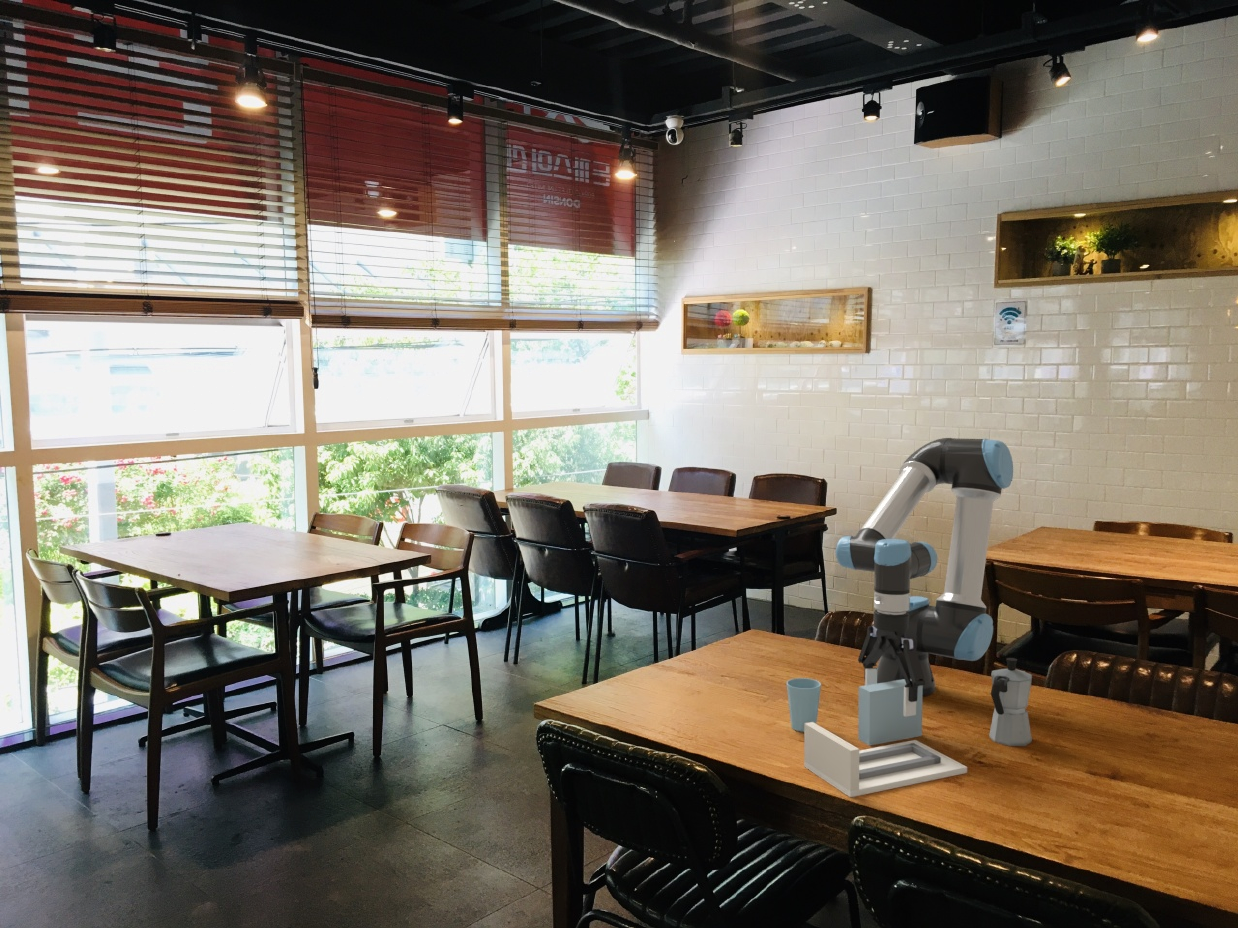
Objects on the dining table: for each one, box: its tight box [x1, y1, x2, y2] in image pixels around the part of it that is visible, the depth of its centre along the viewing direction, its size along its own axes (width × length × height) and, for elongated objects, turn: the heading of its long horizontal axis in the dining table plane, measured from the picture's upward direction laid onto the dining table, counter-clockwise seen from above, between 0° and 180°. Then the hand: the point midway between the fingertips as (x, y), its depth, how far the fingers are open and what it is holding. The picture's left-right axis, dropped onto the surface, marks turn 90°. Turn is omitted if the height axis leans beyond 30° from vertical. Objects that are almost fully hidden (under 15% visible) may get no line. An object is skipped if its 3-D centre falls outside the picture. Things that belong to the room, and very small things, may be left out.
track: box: [803, 722, 968, 798], centre depth 202 cm, size 28×16×9 cm, turn 112°
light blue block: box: [857, 679, 923, 746], centre depth 219 cm, size 14×4×12 cm, turn 112°
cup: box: [786, 677, 822, 733], centre depth 226 cm, size 8×8×10 cm
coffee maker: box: [988, 657, 1033, 747], centre depth 216 cm, size 15×9×18 cm, turn 135°
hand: (889, 705), depth 219 cm, fingers open, 13 cm apart
